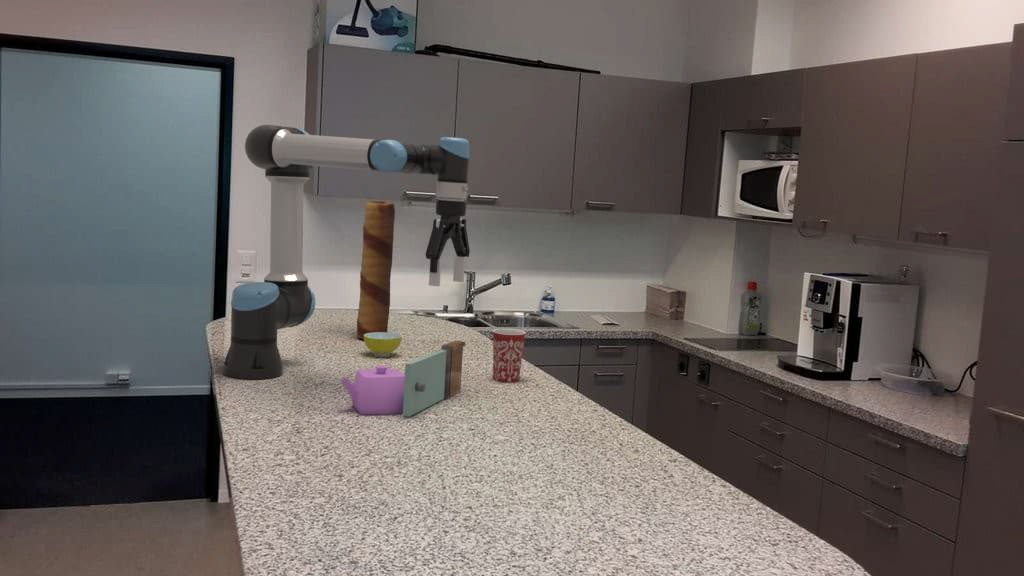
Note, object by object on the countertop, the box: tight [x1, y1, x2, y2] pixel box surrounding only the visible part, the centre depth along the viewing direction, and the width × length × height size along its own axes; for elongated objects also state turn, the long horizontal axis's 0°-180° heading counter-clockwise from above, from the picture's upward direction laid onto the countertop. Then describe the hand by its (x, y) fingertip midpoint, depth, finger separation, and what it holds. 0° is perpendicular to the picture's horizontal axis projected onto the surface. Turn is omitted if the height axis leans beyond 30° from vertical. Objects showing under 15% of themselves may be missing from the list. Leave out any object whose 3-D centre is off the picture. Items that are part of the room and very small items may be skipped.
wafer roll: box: [356, 200, 396, 340], centre depth 300 cm, size 10×11×45 cm
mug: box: [492, 328, 527, 383], centre depth 255 cm, size 13×9×14 cm
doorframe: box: [440, 340, 466, 400], centre depth 231 cm, size 3×10×13 cm, turn 161°
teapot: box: [339, 364, 405, 416], centre depth 213 cm, size 18×10×10 cm, turn 112°
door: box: [402, 349, 446, 417], centre depth 216 cm, size 20×3×12 cm, turn 161°
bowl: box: [363, 332, 403, 358], centre depth 276 cm, size 11×12×6 cm
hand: (446, 283), depth 235 cm, fingers open, 13 cm apart
